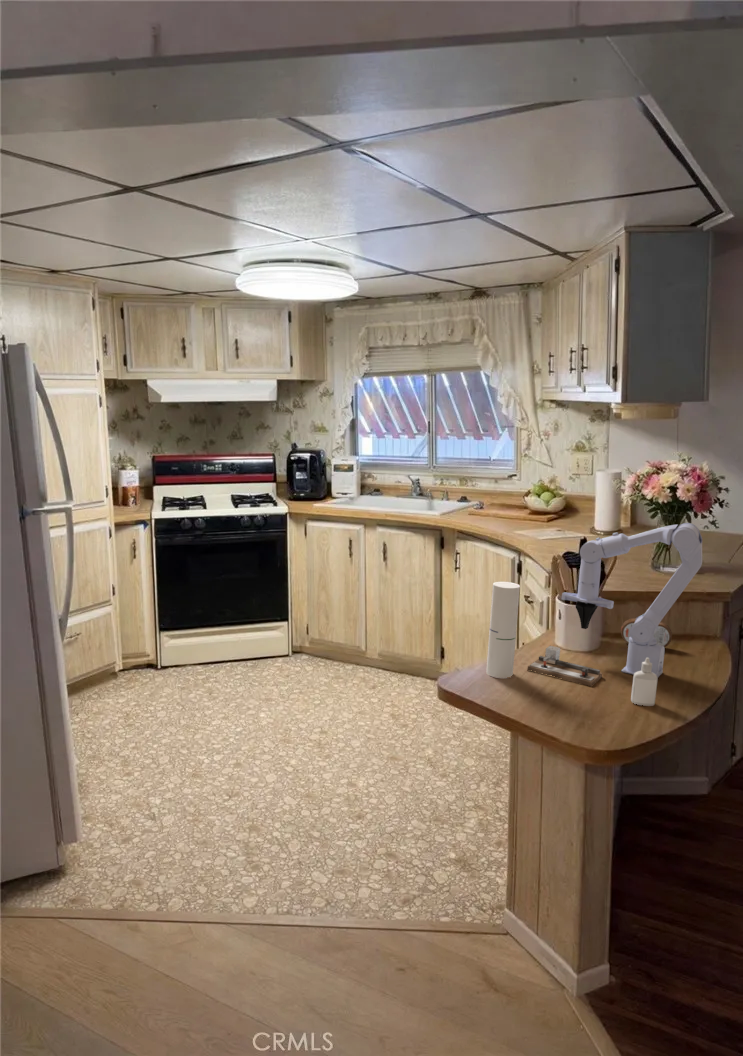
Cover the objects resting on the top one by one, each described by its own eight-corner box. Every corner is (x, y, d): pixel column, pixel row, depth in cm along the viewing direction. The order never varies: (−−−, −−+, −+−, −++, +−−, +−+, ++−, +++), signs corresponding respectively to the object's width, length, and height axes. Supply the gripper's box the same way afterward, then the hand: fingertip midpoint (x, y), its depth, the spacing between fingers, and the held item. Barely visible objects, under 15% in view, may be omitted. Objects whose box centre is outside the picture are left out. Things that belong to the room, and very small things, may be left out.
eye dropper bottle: (651, 709, 187) (656, 662, 185) (628, 702, 190) (633, 657, 188) (656, 704, 190) (661, 658, 188) (634, 697, 193) (639, 653, 191)
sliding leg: (559, 661, 214) (560, 647, 213) (549, 668, 208) (550, 654, 207) (548, 659, 215) (550, 645, 215) (539, 665, 209) (540, 652, 209)
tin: (670, 648, 235) (673, 622, 234) (670, 651, 232) (673, 625, 231) (619, 641, 240) (622, 616, 238) (619, 644, 237) (622, 618, 235)
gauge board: (601, 677, 207) (603, 665, 207) (591, 686, 200) (592, 674, 199) (539, 662, 217) (540, 650, 216) (527, 670, 210) (528, 658, 209)
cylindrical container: (496, 667, 211) (503, 580, 207) (517, 674, 206) (525, 585, 202) (481, 672, 206) (487, 583, 202) (502, 680, 201) (509, 589, 197)
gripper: (559, 580, 217) (555, 625, 219) (610, 589, 209) (605, 636, 211) (568, 576, 222) (564, 620, 225) (617, 584, 214) (612, 630, 217)
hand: (584, 627), depth 218 cm, fingers closed
